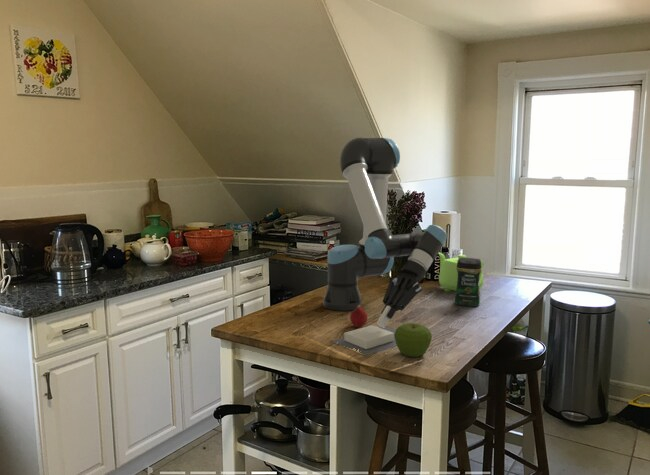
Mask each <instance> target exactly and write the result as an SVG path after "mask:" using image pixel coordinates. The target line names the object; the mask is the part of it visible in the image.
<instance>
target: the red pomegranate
mask: <svg viewBox="0 0 650 475" xmlns="http://www.w3.org/2000/svg"><path fill="white" fill-rule="evenodd" d="M349 320H350V322H351V324H352V325H353V326H354V327H355V328H357V329H360V328H363V327H364V325H366V324H367V322H368V313H367V312H366V311H365V310H364V309H363V308H362V306H360V305H359V306H358V307H357V308H356V309H354V310H352V311H351V313H350V318H349Z"/></svg>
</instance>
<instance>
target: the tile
mask: <svg viewBox="0 0 650 475" xmlns="http://www.w3.org/2000/svg"><path fill="white" fill-rule="evenodd" d="M379 327H380V326H379ZM379 327H378V326H376V325H373V324H372V325H368V326H363V327H359V328H356V329H353V330H350V331H347V332H346V331H344V333H343V336H344V340H345V341H347V342H350V343H352V344H354V345H357V346H359V347H362V348H364V349H369V348H372V347H375V346H378V345H382V344H385V343H388V342H391V341H394V333H393V332H390V331H387V330H384V329H381V328H379Z"/></svg>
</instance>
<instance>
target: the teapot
mask: <svg viewBox="0 0 650 475" xmlns="http://www.w3.org/2000/svg"><path fill="white" fill-rule="evenodd" d="M437 255H438V256H439V258H440V264H439V265H440V266H439V268H440V271H439V277H438V282H439V285H440V286H441V287H443V288H444V289H443V292H449V293H450V292H452V291H455V292H456V288H457V280H458V272H457V269H456V267H457V262H458V259H459V258H467V255H465V254H458V255H457V257H451V258H446V256H445V255H444V254H443V253H442V252H440V251H439V252H438V254H437ZM484 265H485V262H484V261H482V260H481V267H482V268H483V267H484ZM483 285H484V274H483V269H482V270H481V273H480V278H479V290H481V289H482V287H483Z"/></svg>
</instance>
